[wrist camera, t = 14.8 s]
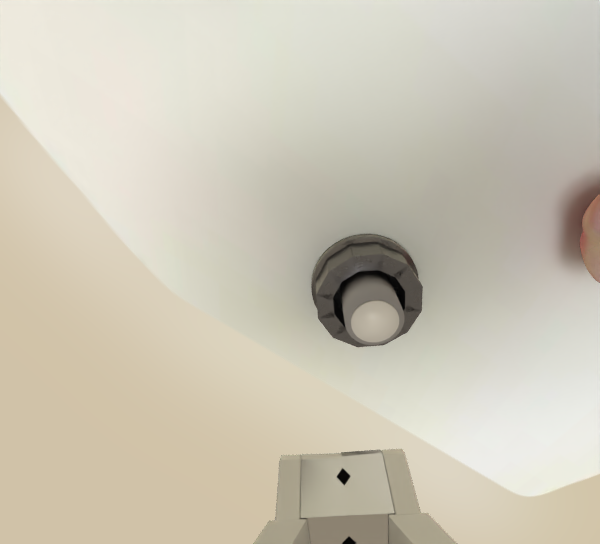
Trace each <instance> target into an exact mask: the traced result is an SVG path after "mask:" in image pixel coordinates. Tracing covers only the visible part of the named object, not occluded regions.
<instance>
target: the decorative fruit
mask: <svg viewBox="0 0 600 544" xmlns="http://www.w3.org/2000/svg"><path fill="white" fill-rule="evenodd" d="M582 227H583V232H582V235H581V238H580V249H581V253H582V257H583V260H584V263H585V266H586V268H587V270H588V271H589V273H590V274H591V276H592V277H593V278H594V279H595V280H596V281H598V282H599V283H600V194H599V195H598V196H597V197H596V198H595V199H594V200H593V201H592V202H591V204H590V205H589V207H588V208H587V210H586V212H585V214H584V216H583V219H582Z"/></svg>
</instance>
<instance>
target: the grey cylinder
mask: <svg viewBox="0 0 600 544" xmlns="http://www.w3.org/2000/svg"><path fill="white" fill-rule="evenodd" d="M340 296H341V302H342V309H343V315H344V321H345V326H346V330H347V332H348V333H349V335H350V336H351V337H352V338H353V339H354V340H356V341H357V342H360V343H362V344H366V345H380V344H383V343H386V342H388V341H390V340H392V339H393V338H395V337H396V336H397V335H398V334H399V332H400V331H401V329H402V327H403V325H404V319H405V318H404V312H403V309H402V307H401V304H400V302H399V300H398V297H397V295H396V293H395V290H394V288H393V286H392V283H391V281H390V279H389V277H388V275H387V274H386V273H384V272H382V271H379V270H373V271H360V272H357V273H355V274H354V275H352V276H351V277H349V278H347V279H346V280H344V281H342V282H341V284H340Z"/></svg>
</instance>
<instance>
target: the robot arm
mask: <svg viewBox="0 0 600 544" xmlns="http://www.w3.org/2000/svg"><path fill="white" fill-rule="evenodd" d="M253 544H457V543H456V542H455V541H454V540H453V539H452V538H451V536H450V535H449V534H448V533H447V532H446V531H444V529H443V528H442V527H441V526H440V525H439V524H438V523H437V522H436V521H435V520H434V519H433V518H432V517H431V516H430V515H429V514H428V513H421V512H420V507H419V504H418V500H417V497H416V493H415V489H414V486H413V482H412V478H411V474H410V471H409V467H408V463H407V460H406V456H405V452H404V451H403V450H402V449H391V450H382V451H381V450H369V451H355V452H342V453H334V454H302V455H283V456H281V458H280V461H279V474H278V488H277V503H276V517H275V520H274V521H269V522H268V523H267V525H266V526H265V528H264V529H263V530H262V532H261V533H260V535H259V536H258V538H257V539H256V541H255V542H254V543H253Z"/></svg>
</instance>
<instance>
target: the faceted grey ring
mask: <svg viewBox="0 0 600 544" xmlns="http://www.w3.org/2000/svg"><path fill="white" fill-rule="evenodd" d="M373 270H379V271H382V272H384V273H386V274H387V275H388V277H389V279H390V281H391V283H392V286H393V288H394V290H395V293H396V295H397V297H398V300H399V302H400V304H401V307H402V309H403V312H404V318H405V319H404V325H403V327H402V329H401V331H400V332H399V334H398V335H397V336H396V337H395V338H393V339H392V340H394V339H396V338H398V337H399V336H401V335H403V334H405V333H407V332H408V330H409V329H410V327H411V326H412V324H413V323H414V321H415V320H416V319H417V317H418V316H419V314H420V313H421V311H422V285H421V283H420V281H419V280H418V273H417V269H416V267H415V264H414V263H413V261H412V259H411V257H410V256H409V254H408V253H407V252H406V250H405V249H404V248H403V247H401V246H400V245H399V244H398V243H396V242H395V241H393V240H391V239H389V238H386V237H383V236H379V235H372V234H361V235H354V236H351V237H347V238H345V239H342V240H340V241H339V242H337V243H335V244H334V245H332V246H331V247H330V248H328V249H327V250H326V251H325V252H324V253H323V255H322V256H321V257H320V259H319V260H318V262H317V264H316V266H315V268H314V271H313V275H312V296H313V300H314V303H315V305H316V307H317V310H318V319H319V320H320V322H321V323H322V324H323V325H324V327H325V328H326V329H327V330H328V332H329V333H330V334H331V335H332V336H333V337H334V338H336V339H338V340H341V341H343V342H346V343H348V344H351V345H353V346H356V347H364V346H377V345H366V344H362V343H360V342H357V341H356V340H354V339H353V338H352V337H351V336H350V335H349V333H348V332H347V330H346V326H345V321H344V315H343V309H342V302H341V296H340V284H341V282H342V281H344V280H346V279H347V278H349V277H351V276H352V275H354V274H355V273H357V272H360V271H373ZM392 340H390V341H392ZM390 341H388V342H390ZM388 342H386V343H383V344H380V345H385V344H387V343H388Z"/></svg>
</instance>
